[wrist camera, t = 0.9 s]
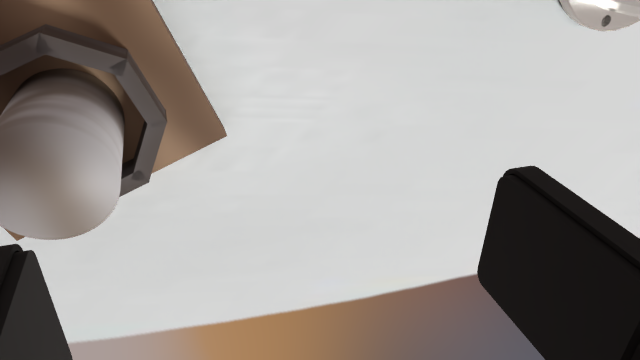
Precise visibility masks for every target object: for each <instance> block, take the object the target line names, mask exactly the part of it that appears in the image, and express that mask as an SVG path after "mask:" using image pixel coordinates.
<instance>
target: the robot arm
mask: <svg viewBox="0 0 640 360" xmlns="http://www.w3.org/2000/svg"><path fill="white" fill-rule="evenodd" d="M559 1H560V3H561V5H562V7H563V9H564V11H565V12H566V13H567V14H568V16H569V17H570V18H571V19H572V20H574V21H575V22H576V23H578V24H579V25H582V26H585V27H587V28H590V29H594V30H598V31H614V30H619V29H622V28H625V27H629V26H630V25H632V24H634V23H636V22H638V21H640V0H559ZM477 272H478V278H479V281H480V283H481V285H482V286H483V287H484V288H485V290H487V292H488V293H489V294H490V295H491V296H492V298H493V299H494V300H495V301H496V302H497V303H498V305H499V306H500V307H501V308H502V309H503V311H504V312H505V313H506V314H507V315H508V316H509V318H510V319H511V320H512V321H513V322H514V323H515V325H516V326H517V327H518V328H519V329H520V331H521V332H522V333H523V334H524V335H525V336H526V338H527V339H528V340H529V341H530V342H531V343H532V345H533V346H534V347H535V348H536V349H537V350H538V352H539V353H540V354H541V355H542V356H543V357H544V359H545V360H640V239H639V238H638V237H636V236H635V235H633V234H632V233H630V232H629V231H628V230H626V229H625V228H623V227H622V226H620V225H619V224H618V223H616V222H615V221H613V220H612V219H611V218H609V217H608V216H606V215H605V214H603V213H602V212H601V211H599V210H598V209H596V208H595V207H593V206H592V205H591V204H589V203H588V202H586V201H585V200H583V199H582V198H581V197H579V196H578V195H576V194H575V193H573V192H572V191H571V190H569V189H568V188H566V187H565V186H563V185H562V184H561V183H559V182H558V181H556V180H555V179H553V178H552V177H551V176H549V175H548V174H546V173H545V172H543V171H542V170H541V169H539V168H537V167H535V166H526V167H520V168H513V169H509V170H507V171H506V172H505V173H504V175H503V177H501V178H500V179H499V181H498V184H497V188H496V192H495V197H494V201H493V205H492V209H491V214H490V218H489V222H488V227H487V231H486V235H485V240H484V244H483V248H482V252H481V257H480V261H479V265H478V271H477ZM0 360H72V355H71V352H70V349H69V347H68V344H67V341H66V338H65V335H64V333H63V330H62V327H61V324H60V322H59V319H58V316H57V313H56V310H55V308H54V305H53V302H52V299H51V296H50V294H49V291H48V288H47V285H46V282H45V280H44V277H43V274H42V271H41V268H40V266H39V263H38V260H37V257H36V255H35V253H34V252H33V251H32V250H29V251H23V250H22V248H21V247H20V246H19V245H18V244H12V245H6V246H0Z"/></svg>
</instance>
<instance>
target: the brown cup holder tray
mask: <svg viewBox="0 0 640 360" xmlns="http://www.w3.org/2000/svg"><path fill="white" fill-rule="evenodd" d="M226 136H227V135H226V132H225V129H224V127H223V125H222V123H221V121H220V120H219V118H218V116H217V114H216V112H215V111H214V109H213V107H212V105H211V104H210V102H209V100H208V98H207V97H206V95H205V93H204V91H203V89H202V88H201V86H200V84H199V82H198V81H197V79H196V77H195V75H194V73H193V72H192V70H191V68H190V66H189V65H188V63H187V61H186V59H185V57H184V56H183V54H182V52H181V50H180V49H179V47H178V45H177V43H176V41H175V40H174V38H173V36H172V34H171V33H170V31H169V29H168V27H167V26H166V24H165V22H164V20H163V18H162V17H161V15H160V13H159V11H158V10H157V8H156V6H155V4H154V2H153V1H152V0H0V226H1V227H3V228H4V229H5V230H6V231H7V232H8V233H9V234H10V235H11V236H13V237H14V238H15V239H16V240H17V241H18V240H20V239H22V238H24V237H30V238H35V239H44V240H57V239H66V238H71V237H75V236H78V235H81V234H84V233H86V232H88V231H90V230H92V229H94V228H96V227H97V226H99V225H100V224H101V223H103V222H104V221H105V220H106V219H107V218H108V217H109V215H110V214H111V213H112V212H113V210H114V208H115V206H116V205H117V202H118V199H119V197H120V196H122V195H124V194H126V193H128V192H130V191H132V190H134V189H136V188H138V187H140V186H142V185H144V184H146V183H149V180H150V176H151V174H152V173H154V172H156V171H158V170H160V169H162V168H164V167H166V166H168V165H170V164H172V163H174V162H176V161H178V160H180V159H182V158H184V157H186V156H188V155H190V154H192V153H194V152H196V151H198V150H200V149H202V148H204V147H206V146H208V145H210V144H212V143H214V142H216V141H218V140H220V139H222V138H224V137H226Z"/></svg>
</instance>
